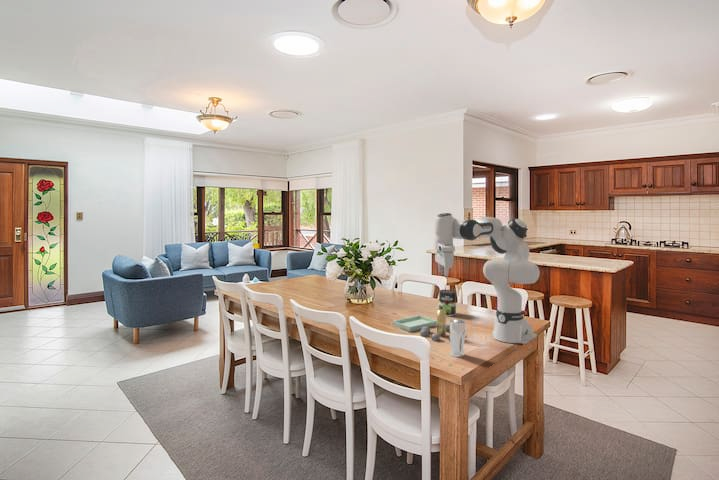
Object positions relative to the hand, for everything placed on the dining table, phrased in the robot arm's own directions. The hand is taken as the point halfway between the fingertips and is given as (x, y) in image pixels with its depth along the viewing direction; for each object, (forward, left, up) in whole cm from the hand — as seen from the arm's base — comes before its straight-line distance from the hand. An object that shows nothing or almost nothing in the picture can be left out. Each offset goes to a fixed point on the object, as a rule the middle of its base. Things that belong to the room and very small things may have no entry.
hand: (443, 273), depth 189 cm
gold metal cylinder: (0, -1, -32) cm, 32 cm away
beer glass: (+13, +21, -32) cm, 40 cm away
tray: (0, -21, -32) cm, 38 cm away
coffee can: (-32, -27, -32) cm, 53 cm away
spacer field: (0, -1, -32) cm, 32 cm away
